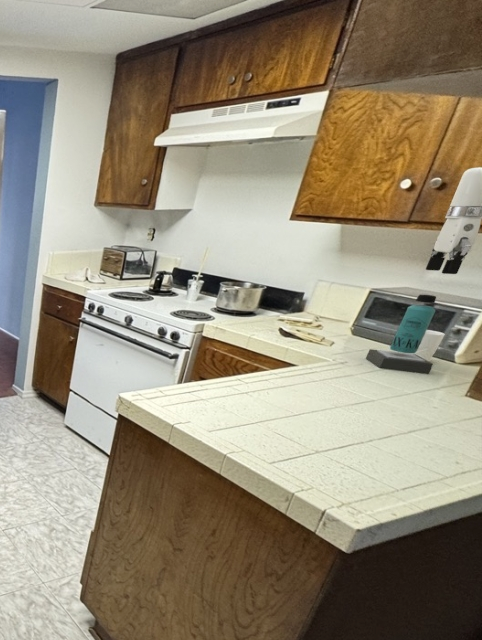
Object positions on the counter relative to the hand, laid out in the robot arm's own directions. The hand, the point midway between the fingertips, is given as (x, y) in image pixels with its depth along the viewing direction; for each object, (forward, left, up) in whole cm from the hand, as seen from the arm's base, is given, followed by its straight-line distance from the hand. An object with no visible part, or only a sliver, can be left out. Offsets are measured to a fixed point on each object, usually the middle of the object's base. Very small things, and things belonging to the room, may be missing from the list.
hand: (440, 271), depth 145 cm
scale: (+1, 0, -31) cm, 31 cm away
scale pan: (+1, 0, -29) cm, 29 cm away
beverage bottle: (+1, 0, -27) cm, 27 cm away
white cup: (-9, -14, -31) cm, 36 cm away
